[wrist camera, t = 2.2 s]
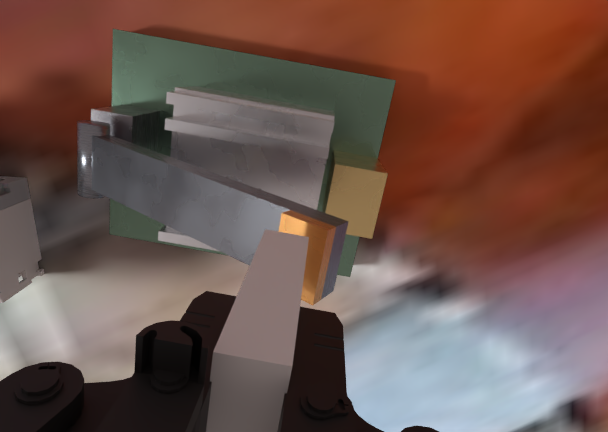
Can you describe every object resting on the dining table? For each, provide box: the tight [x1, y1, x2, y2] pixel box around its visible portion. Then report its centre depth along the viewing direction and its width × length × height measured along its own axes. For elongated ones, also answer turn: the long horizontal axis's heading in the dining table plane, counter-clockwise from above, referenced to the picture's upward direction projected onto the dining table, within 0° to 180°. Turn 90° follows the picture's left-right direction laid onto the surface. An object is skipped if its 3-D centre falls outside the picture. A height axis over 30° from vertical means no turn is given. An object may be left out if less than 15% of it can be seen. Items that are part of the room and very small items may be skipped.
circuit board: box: [91, 29, 396, 277], centre depth 26 cm, size 18×14×7 cm
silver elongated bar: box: [77, 120, 349, 305], centre depth 19 cm, size 16×4×2 cm, turn 80°
